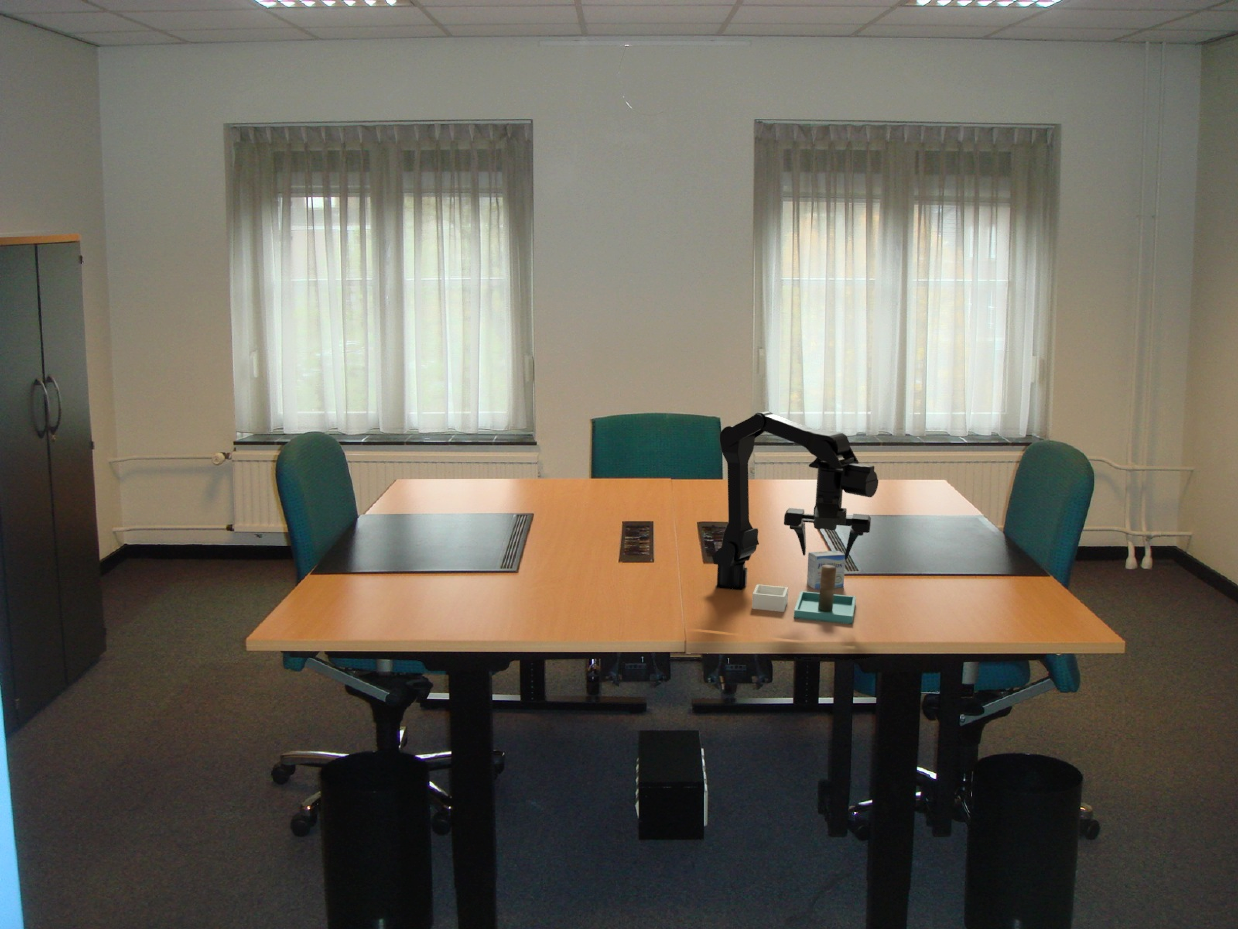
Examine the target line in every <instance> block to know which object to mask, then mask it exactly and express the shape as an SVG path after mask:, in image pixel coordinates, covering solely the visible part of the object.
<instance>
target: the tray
mask: <svg viewBox="0 0 1238 929" xmlns="http://www.w3.org/2000/svg"><path fill="white" fill-rule="evenodd" d="M856 600H857V597H856V596H854V595H843V594H835V593H834V598H833V609H832V611H831V612H823V611H820V610H818V603H819V592H815V591H814V592H813V591H806V590H805V591H803V590H800V591H799V595H798V598H797V601H796V603H795V607H794V610H793V611H794V612H793V619H798V620H799V619H800V620H807V621H808V620H809V621H815V622H827V623H834V624H844V625H846V624H847V625H853V621H854V615H855V610H856V609H855V608H856Z"/></svg>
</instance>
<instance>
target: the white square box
mask: <svg viewBox="0 0 1238 929" xmlns="http://www.w3.org/2000/svg"><path fill="white" fill-rule="evenodd" d="M788 597H789V587H788V586H778V585H777V586H776V585H768V584H767V585H766V584H756V585H755V588H754V590H753V592H752V595H751V598H752V600H751V609H753V610H761V611H762V610H763V611H772V612H779V613H780V612H782V613H785V610H786V607H787V605H788Z"/></svg>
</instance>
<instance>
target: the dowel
mask: <svg viewBox="0 0 1238 929" xmlns="http://www.w3.org/2000/svg"><path fill="white" fill-rule="evenodd" d="M835 577H836V567H835V566H832V565H823V566H822V570H821V581H820V589H819V592H818V593H819V603H818V610H820V611H823V612H831V611H832V609H833V598H834V594H835V589H836V588H835Z"/></svg>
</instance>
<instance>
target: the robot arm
mask: <svg viewBox="0 0 1238 929" xmlns="http://www.w3.org/2000/svg"><path fill="white" fill-rule="evenodd" d="M764 433H768V434H770V435H773V436H777V437H778V438H781V439H784V440H786V441H789V442H792V443H794V444H796V445H799V446H802V447H803V448H805V449H806V450H807V451H808V452H809V453H810V454H811V455H812V456H814V457H815V459H814V460H813V461H812V462H810V463H809V464H808V467H809V468H813V469H817V473H816V474H817V476H816V490H815V493H816V494H815V505H814V507H813V513H805V509H804V508H796V507H795V508H793V507H789V508H787V509H786V510H785V513H784V517H783V525H785V526H789V529H790V530H793V532H795V534H796V536H797V539H798V541H799V545H800V549H801V553H802V556H804V557H806V552H807V551H806V550H807V541H806V536H807V535H806V534H807V533H806V523H809V524H811V523H812V524H813V528H814V529H815V530H828V531H835V530H836V529H837V526H844V527H850V528H849V530H850V531H849V534H848V538H847V543H846V547H845V548H846V549H845V553H844V555H845V561H847V559H848V557H849V555H850V553H851V551H852V547H853V545H854V544H855V542H856V540H857V539H858V537H859V536H864V533H865V534H867V533H869V534H870V531H871V523H872V517H871V516H870V515H869V514H862V513H853V515H852V517H847V514H848V513H847V511H848V510H847V508H846V507H845V508H844V507H842V506H843V505H842V504H843V493H846V494H850V495H854V496H860V497H866V498H873V497H874V496H875V494H876V493H877V490H878V486H879V479H878V475H877V472H876V471H875V465H870V464H866V465H865V464H861V463H860V462H859V460H858V458H857V457H856V454H855V453H854V451H853V449H852V447H851V445H850V440H849V438H848V436H847V435H846V434H845V433H843V432H839V431H833V430H826V429H825V430H823V429H815V428H812V427H809V426H807V425H804V424H800V423H799V422H795V421H792V420H791V419H787V418H785V417H782V416H779V415H776V414H775V413H773V412H771V411H767V410H766V411H760V412H756V413H754V415H752V416H751V417H749V418H746V419H745V420H743V421H740V422H739V423H737V424H733V425H727V426H725V427H723V429H722V430H721V431H720V433H719V439H718V440H719V445H720V451H721V454H722V456H723V457H724V459H725V461H726V465H727V504H728V506H727V513H728V516H727V517H728V522H727V525H726V527H725V529H724V532H723V534H722V539H721V547H719V549H717V550H716V551H715V552H714V553H712V555H711V557H712V562H713V565H717V570H716V571H717V575H716V585H715V586H714V588H717V589H726V590H734V591H743V589H744V588H745V587H746V586H747V584H748V568H747V567H746V562H747V561H750V559H751V557H752V555H753V554H754V553H755V552H756V551H757V546H758V545H759V544H760V543H759V538H758V537H759V529H758V527H757V528H756V527H753V526H752V524H751V522H750V505H749V504H750V502H749V501H750V499H749V498H750V497H749V494H750V493H749V489H750V488H749V461H750V458H751V456H752V454H753V452H754V448H755V441H756V438H758V437H759V436H761V435H763V434H764ZM859 463H860V464H859ZM843 491H844V492H843Z"/></svg>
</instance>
